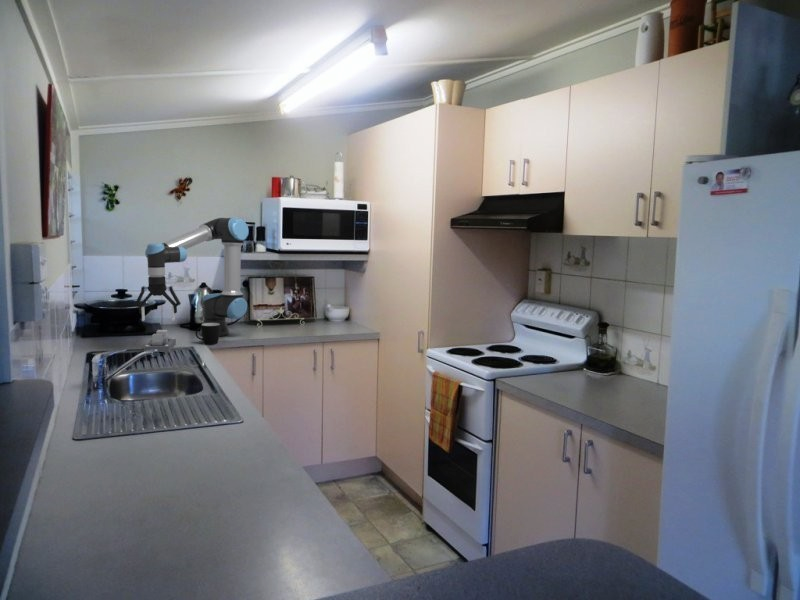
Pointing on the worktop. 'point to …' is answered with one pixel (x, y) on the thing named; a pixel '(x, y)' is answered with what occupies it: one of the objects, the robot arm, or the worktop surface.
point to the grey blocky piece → (167, 345)
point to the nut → (158, 340)
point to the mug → (209, 333)
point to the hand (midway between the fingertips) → (158, 320)
